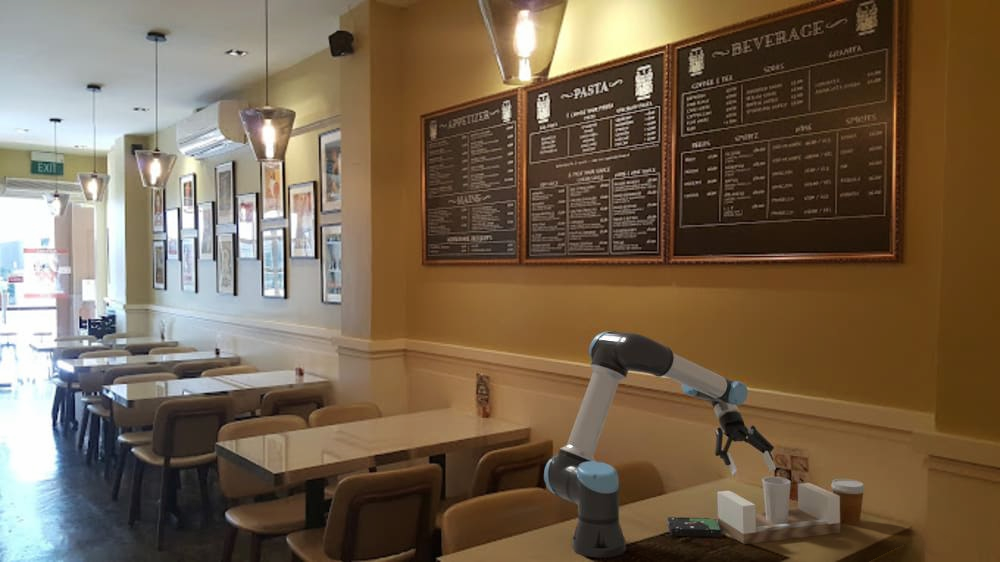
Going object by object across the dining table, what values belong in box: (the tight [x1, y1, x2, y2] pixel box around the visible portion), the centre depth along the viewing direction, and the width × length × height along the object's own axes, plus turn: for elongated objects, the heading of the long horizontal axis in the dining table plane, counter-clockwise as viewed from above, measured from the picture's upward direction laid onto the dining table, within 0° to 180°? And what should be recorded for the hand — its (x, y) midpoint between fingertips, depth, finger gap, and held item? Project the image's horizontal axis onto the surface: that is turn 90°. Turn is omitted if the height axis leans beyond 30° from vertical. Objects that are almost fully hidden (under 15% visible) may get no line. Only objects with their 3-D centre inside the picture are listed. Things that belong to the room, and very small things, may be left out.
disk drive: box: [667, 516, 723, 538], centre depth 213 cm, size 10×3×15 cm
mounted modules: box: [716, 482, 841, 534], centre depth 211 cm, size 32×14×8 cm, turn 103°
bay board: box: [717, 508, 841, 545], centre depth 211 cm, size 32×14×4 cm, turn 103°
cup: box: [762, 476, 792, 524], centre depth 211 cm, size 8×8×12 cm
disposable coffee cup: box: [830, 478, 866, 526], centre depth 217 cm, size 10×10×12 cm
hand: (754, 472), depth 224 cm, fingers open, 13 cm apart
